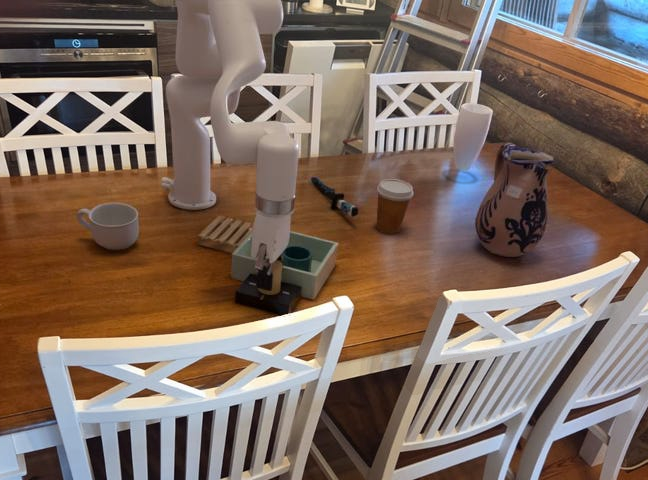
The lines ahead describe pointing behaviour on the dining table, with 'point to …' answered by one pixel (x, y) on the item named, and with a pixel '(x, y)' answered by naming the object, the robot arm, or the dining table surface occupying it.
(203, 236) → the rack
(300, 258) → the pan
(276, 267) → the tap knob
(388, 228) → the disposable coffee cup
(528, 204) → the ceramic pitcher
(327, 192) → the knife
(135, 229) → the teacup
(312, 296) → the pale green open box
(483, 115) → the white vase
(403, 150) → the dining table surface
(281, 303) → the black dial base
